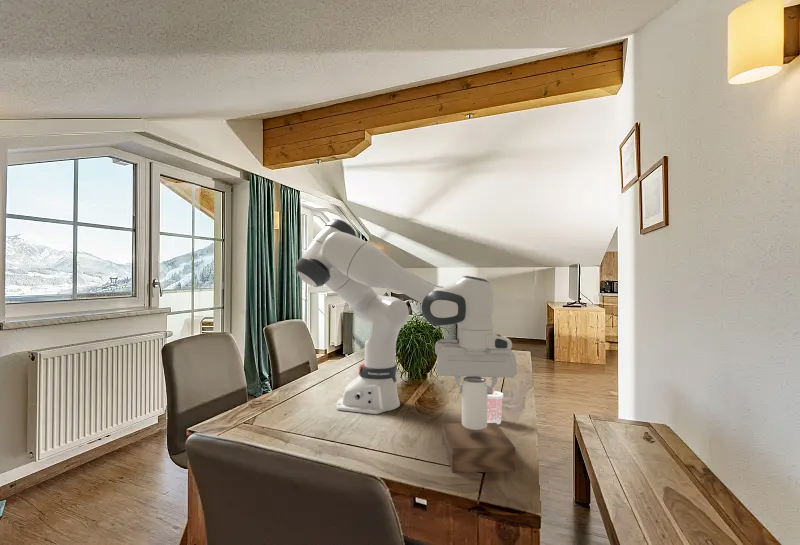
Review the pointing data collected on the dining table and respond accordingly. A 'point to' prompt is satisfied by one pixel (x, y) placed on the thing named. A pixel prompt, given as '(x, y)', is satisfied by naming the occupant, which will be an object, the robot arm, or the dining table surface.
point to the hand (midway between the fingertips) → (475, 393)
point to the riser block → (478, 449)
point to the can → (474, 403)
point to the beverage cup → (494, 407)
